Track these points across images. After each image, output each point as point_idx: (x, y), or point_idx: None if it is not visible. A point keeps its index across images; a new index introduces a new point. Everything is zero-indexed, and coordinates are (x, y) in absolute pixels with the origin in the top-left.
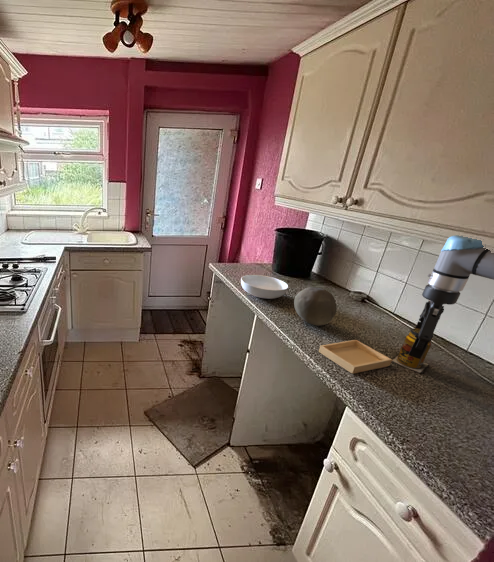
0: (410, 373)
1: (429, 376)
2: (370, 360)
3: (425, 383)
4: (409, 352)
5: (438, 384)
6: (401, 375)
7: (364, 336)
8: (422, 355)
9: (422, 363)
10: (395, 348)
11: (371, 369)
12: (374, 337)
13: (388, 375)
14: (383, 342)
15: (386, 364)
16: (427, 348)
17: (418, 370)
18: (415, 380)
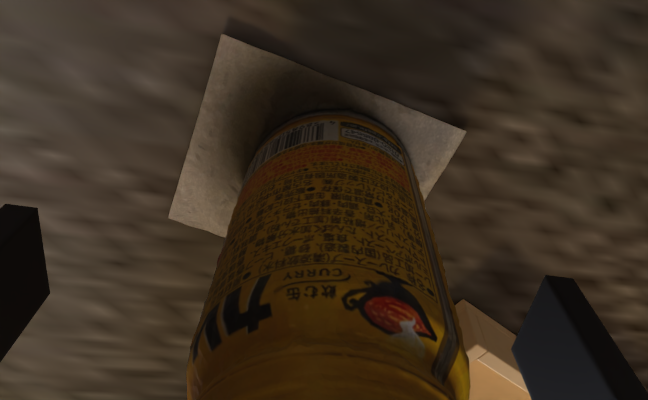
0: (505, 190)
1: (476, 60)
2: (475, 393)
3: (629, 113)
4: (526, 371)
5: (600, 12)
6: (574, 247)
7: (63, 388)
8: (427, 232)
9: (370, 138)
10: (88, 236)
11: None
12: None
13: (615, 313)
14: (49, 298)
15: (500, 336)
16: (431, 283)
17: (425, 136)
18: (610, 173)
